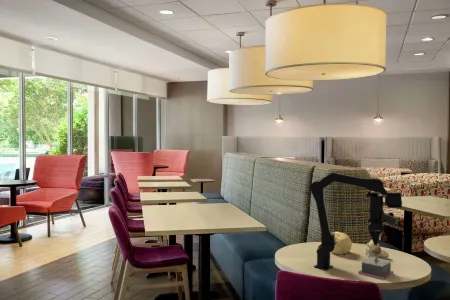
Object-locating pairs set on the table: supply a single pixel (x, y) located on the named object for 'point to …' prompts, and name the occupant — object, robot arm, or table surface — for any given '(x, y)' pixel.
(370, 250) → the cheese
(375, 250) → the plunger
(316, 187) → the robot arm
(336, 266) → the table surface
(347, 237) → the sculpture
